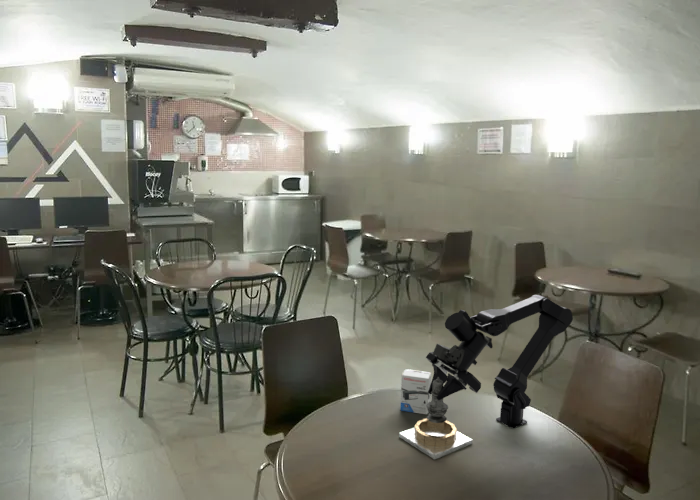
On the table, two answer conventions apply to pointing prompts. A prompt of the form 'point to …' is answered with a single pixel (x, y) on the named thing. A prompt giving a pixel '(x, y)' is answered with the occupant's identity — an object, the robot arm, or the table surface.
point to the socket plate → (435, 449)
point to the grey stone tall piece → (436, 404)
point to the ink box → (415, 391)
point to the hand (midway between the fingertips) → (433, 396)
